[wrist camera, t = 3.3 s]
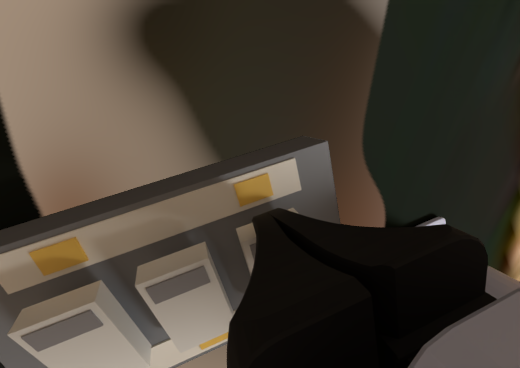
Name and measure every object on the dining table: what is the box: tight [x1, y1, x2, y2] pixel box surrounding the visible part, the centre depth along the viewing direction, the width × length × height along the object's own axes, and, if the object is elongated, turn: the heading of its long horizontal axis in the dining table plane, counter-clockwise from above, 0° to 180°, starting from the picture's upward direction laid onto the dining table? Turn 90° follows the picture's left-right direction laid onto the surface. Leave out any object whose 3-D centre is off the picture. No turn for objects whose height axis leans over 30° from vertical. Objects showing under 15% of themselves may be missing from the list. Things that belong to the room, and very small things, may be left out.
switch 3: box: [236, 208, 299, 276], centre depth 13 cm, size 5×3×1 cm, turn 15°
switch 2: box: [135, 242, 234, 353], centre depth 12 cm, size 5×3×1 cm, turn 14°
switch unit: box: [0, 136, 340, 368], centre depth 14 cm, size 10×18×3 cm, turn 105°
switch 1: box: [7, 280, 151, 368], centre depth 11 cm, size 5×3×1 cm, turn 14°
